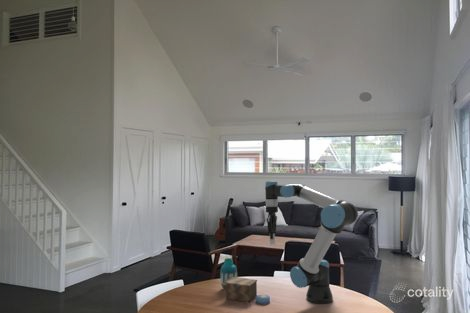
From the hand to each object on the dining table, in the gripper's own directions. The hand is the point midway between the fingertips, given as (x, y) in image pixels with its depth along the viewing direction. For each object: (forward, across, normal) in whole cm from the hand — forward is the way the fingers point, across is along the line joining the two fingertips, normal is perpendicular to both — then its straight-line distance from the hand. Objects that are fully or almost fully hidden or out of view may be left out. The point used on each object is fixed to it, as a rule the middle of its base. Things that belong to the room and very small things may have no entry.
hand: (272, 244), depth 225 cm
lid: (+23, +15, -15) cm, 31 cm away
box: (+30, +14, -15) cm, 37 cm away
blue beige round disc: (+31, +15, -1) cm, 34 cm away
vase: (+31, +3, -29) cm, 42 cm away
